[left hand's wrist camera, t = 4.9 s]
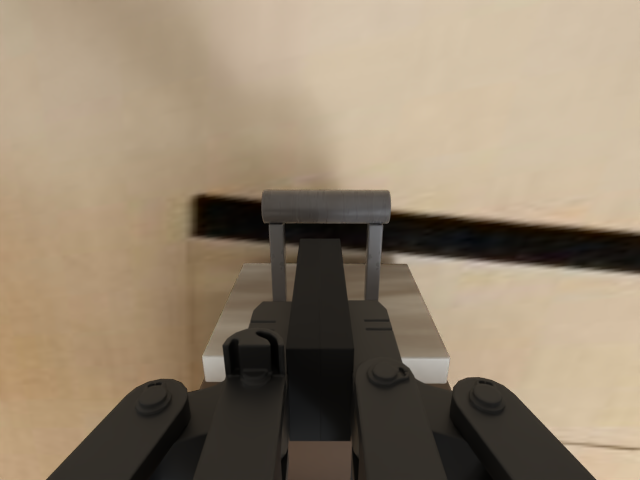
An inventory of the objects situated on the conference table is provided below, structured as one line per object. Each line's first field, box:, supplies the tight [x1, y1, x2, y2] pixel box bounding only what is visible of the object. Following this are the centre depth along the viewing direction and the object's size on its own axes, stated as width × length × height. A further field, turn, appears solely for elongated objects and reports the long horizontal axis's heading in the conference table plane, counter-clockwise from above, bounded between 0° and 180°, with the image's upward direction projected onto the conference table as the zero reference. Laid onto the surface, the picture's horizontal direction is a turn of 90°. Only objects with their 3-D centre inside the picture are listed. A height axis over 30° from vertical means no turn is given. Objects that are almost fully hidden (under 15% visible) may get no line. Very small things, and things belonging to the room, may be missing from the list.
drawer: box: [202, 190, 450, 384], centre depth 20 cm, size 22×9×8 cm, turn 0°
